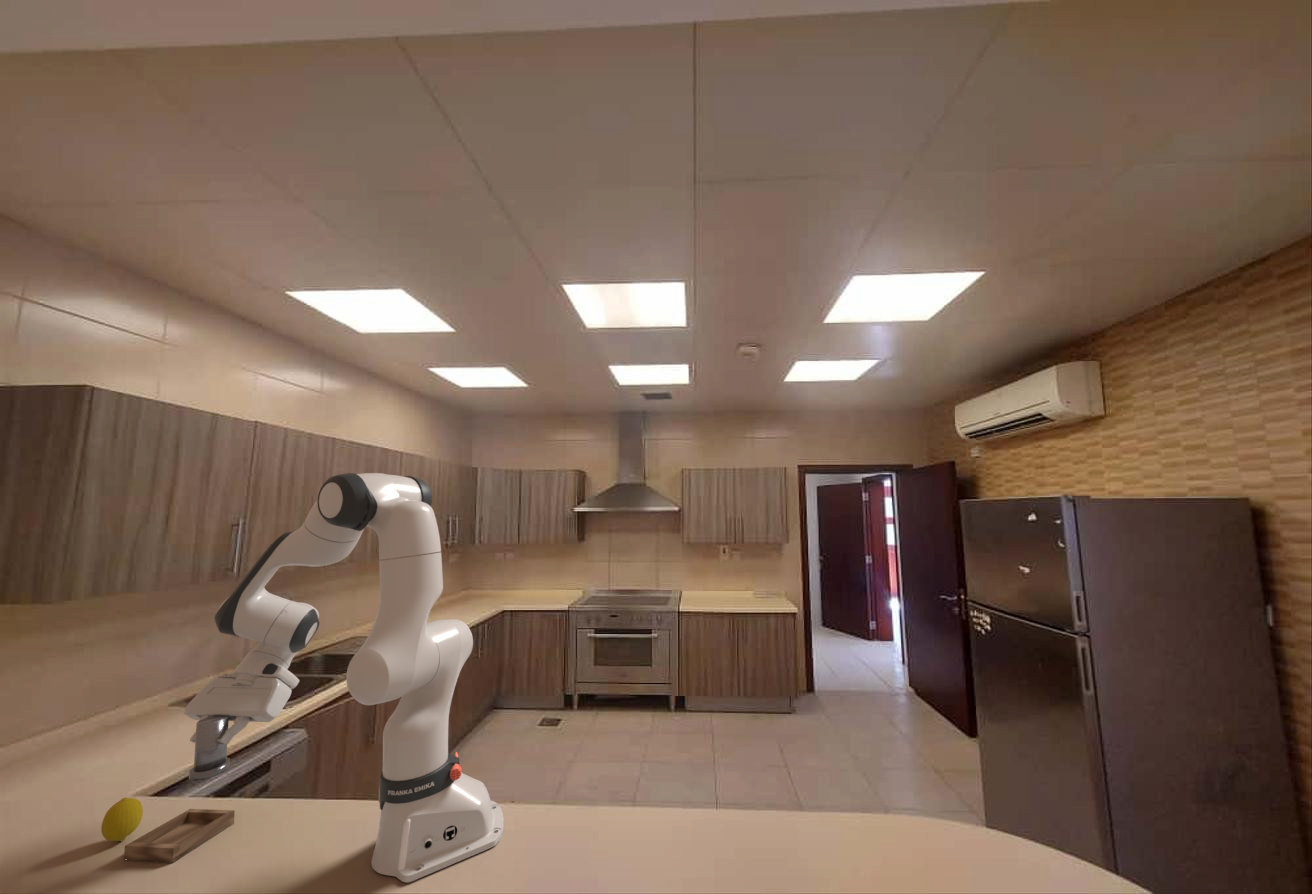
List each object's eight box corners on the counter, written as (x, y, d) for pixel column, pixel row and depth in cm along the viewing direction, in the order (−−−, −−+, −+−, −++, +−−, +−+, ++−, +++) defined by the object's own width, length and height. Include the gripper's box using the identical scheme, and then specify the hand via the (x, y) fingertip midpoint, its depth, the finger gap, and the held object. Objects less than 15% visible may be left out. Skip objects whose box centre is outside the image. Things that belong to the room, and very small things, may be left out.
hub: (235, 761, 99) (238, 710, 100) (221, 776, 93) (224, 722, 94) (198, 768, 97) (202, 716, 98) (182, 783, 91) (185, 728, 92)
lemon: (95, 846, 94) (98, 802, 95) (135, 829, 99) (138, 787, 100) (105, 854, 91) (108, 809, 92) (146, 836, 96) (148, 793, 97)
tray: (234, 823, 98) (234, 810, 99) (172, 863, 88) (173, 848, 88) (189, 821, 100) (190, 808, 100) (123, 860, 89) (124, 845, 90)
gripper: (209, 666, 105) (152, 734, 95) (288, 667, 102) (240, 738, 92) (228, 680, 109) (176, 747, 99) (306, 681, 106) (261, 750, 95)
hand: (208, 742), depth 95 cm, fingers closed on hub, 5 cm apart
